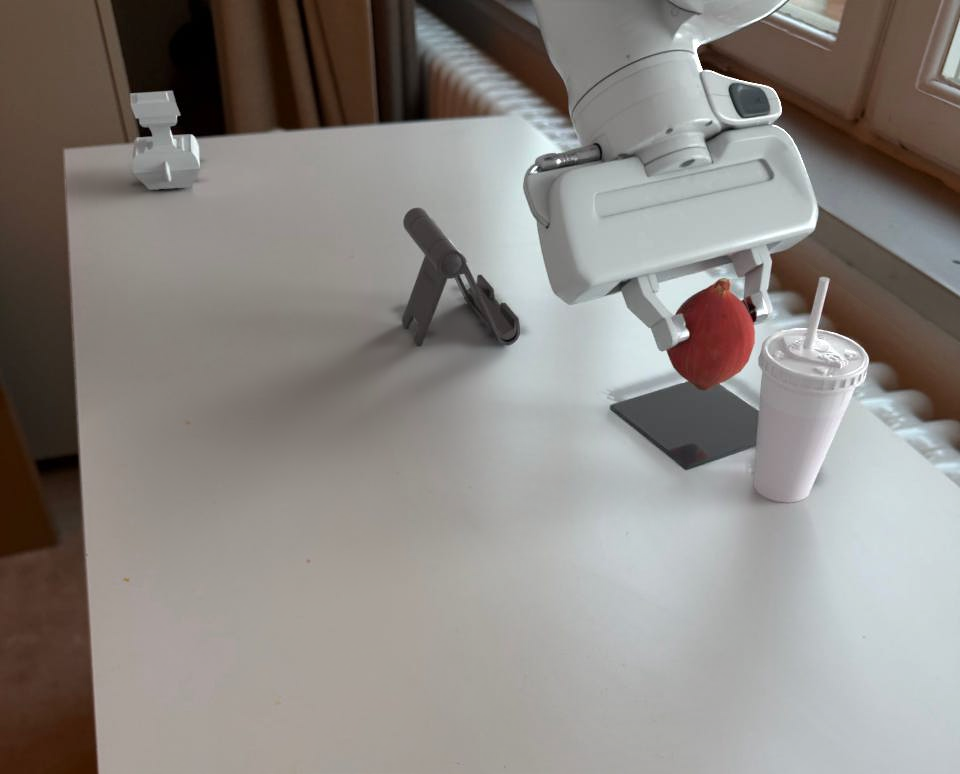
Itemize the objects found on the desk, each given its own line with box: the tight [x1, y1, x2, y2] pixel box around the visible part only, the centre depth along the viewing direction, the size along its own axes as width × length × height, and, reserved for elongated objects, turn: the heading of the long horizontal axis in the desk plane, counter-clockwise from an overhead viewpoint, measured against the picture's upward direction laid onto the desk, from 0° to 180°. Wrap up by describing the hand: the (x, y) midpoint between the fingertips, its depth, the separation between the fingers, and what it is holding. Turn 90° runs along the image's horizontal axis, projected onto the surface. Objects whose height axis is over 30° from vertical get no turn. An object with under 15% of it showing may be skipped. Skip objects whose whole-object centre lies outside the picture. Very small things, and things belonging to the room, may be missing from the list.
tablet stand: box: [401, 207, 521, 347], centre depth 81 cm, size 9×8×8 cm
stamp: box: [129, 90, 201, 191], centre depth 104 cm, size 9×7×8 cm
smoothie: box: [752, 276, 870, 504], centre depth 63 cm, size 6×6×14 cm
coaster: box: [609, 380, 759, 471], centre depth 74 cm, size 9×9×1 cm
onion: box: [665, 277, 756, 390], centre depth 69 cm, size 6×6×8 cm
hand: (718, 334), depth 69 cm, fingers closed on onion, 6 cm apart
